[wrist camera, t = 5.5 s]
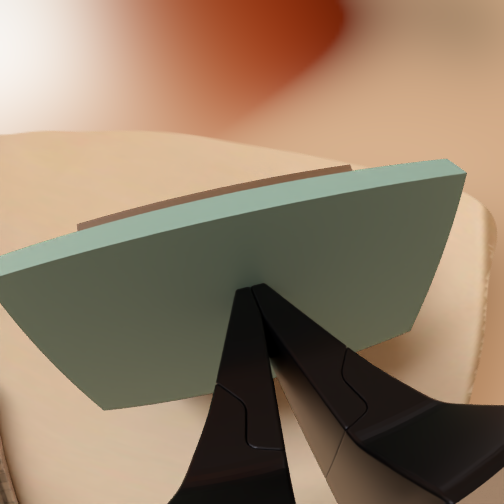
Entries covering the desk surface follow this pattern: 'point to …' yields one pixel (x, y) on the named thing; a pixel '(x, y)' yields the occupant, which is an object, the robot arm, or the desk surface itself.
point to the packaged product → (5, 481)
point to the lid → (231, 276)
